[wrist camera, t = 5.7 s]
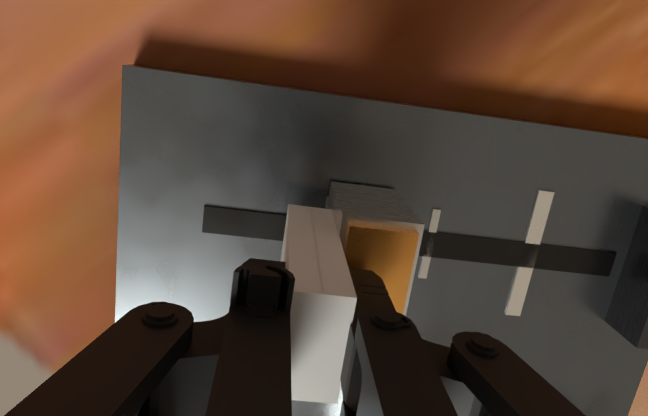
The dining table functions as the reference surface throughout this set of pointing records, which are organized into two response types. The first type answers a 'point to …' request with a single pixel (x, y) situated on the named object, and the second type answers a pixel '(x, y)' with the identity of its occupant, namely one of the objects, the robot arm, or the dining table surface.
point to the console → (421, 195)
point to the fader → (378, 235)
